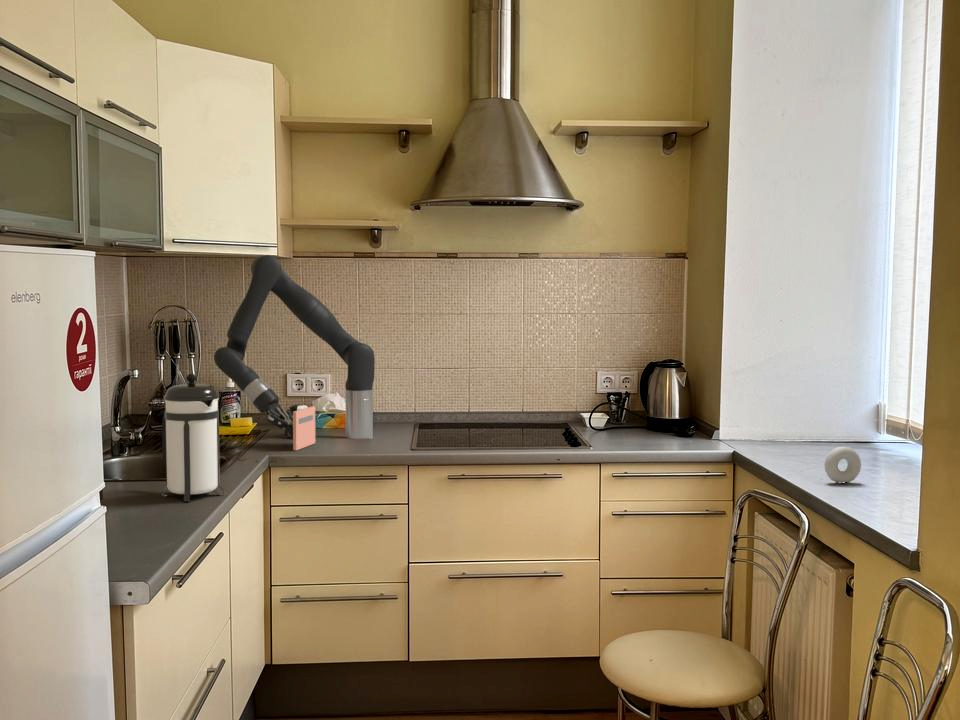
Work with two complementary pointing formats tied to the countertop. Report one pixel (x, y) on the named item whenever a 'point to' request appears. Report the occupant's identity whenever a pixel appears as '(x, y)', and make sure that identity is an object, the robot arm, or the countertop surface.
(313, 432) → the book
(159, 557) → the countertop surface
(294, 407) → the medicine bottle
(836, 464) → the donut
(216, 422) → the coffee press
